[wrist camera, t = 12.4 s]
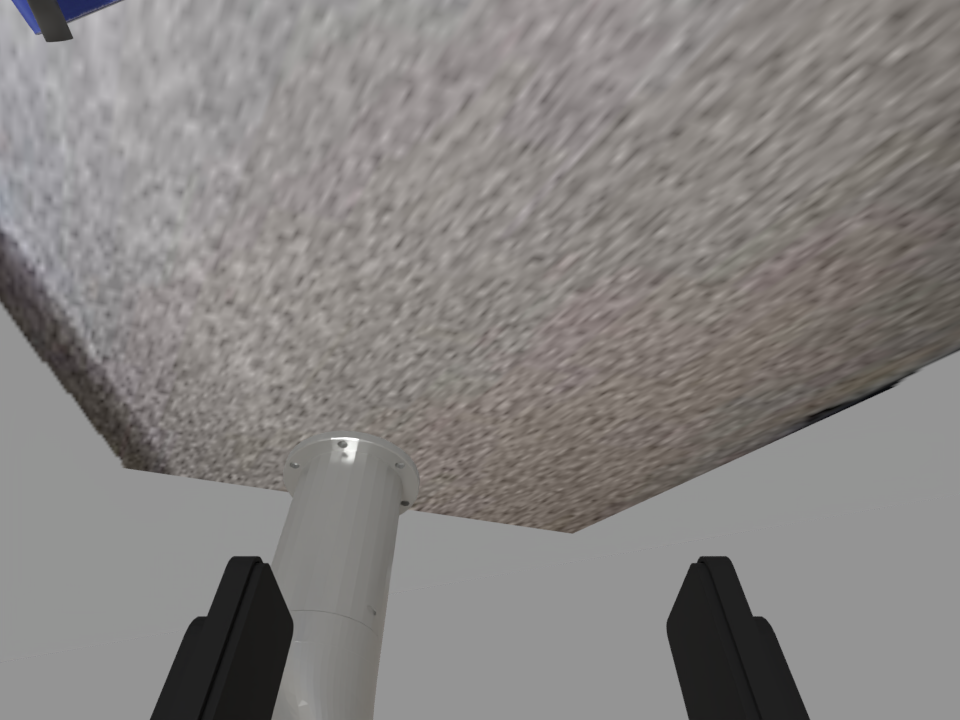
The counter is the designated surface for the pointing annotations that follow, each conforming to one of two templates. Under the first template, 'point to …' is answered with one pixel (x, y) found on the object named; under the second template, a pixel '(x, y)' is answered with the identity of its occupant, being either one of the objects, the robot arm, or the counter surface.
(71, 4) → the hard drive
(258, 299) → the counter surface
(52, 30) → the plug
